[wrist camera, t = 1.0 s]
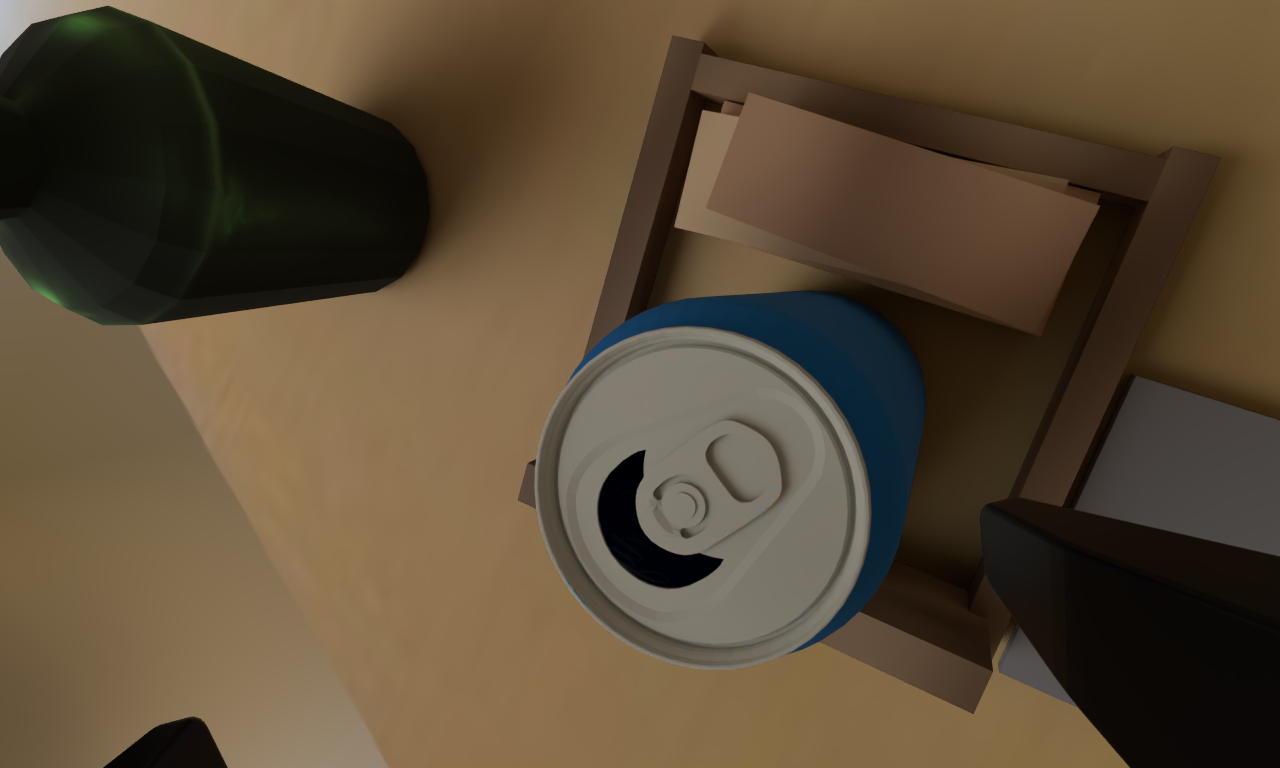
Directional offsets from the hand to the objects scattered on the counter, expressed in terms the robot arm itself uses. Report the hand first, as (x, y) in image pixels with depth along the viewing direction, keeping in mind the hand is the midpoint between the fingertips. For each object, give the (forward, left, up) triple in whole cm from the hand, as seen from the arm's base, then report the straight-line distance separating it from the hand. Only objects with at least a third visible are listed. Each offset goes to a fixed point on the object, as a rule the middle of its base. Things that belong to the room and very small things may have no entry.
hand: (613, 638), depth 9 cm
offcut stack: (+1, -6, -16) cm, 17 cm away
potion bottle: (+19, -1, -16) cm, 25 cm away
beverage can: (+1, 0, -16) cm, 16 cm away
